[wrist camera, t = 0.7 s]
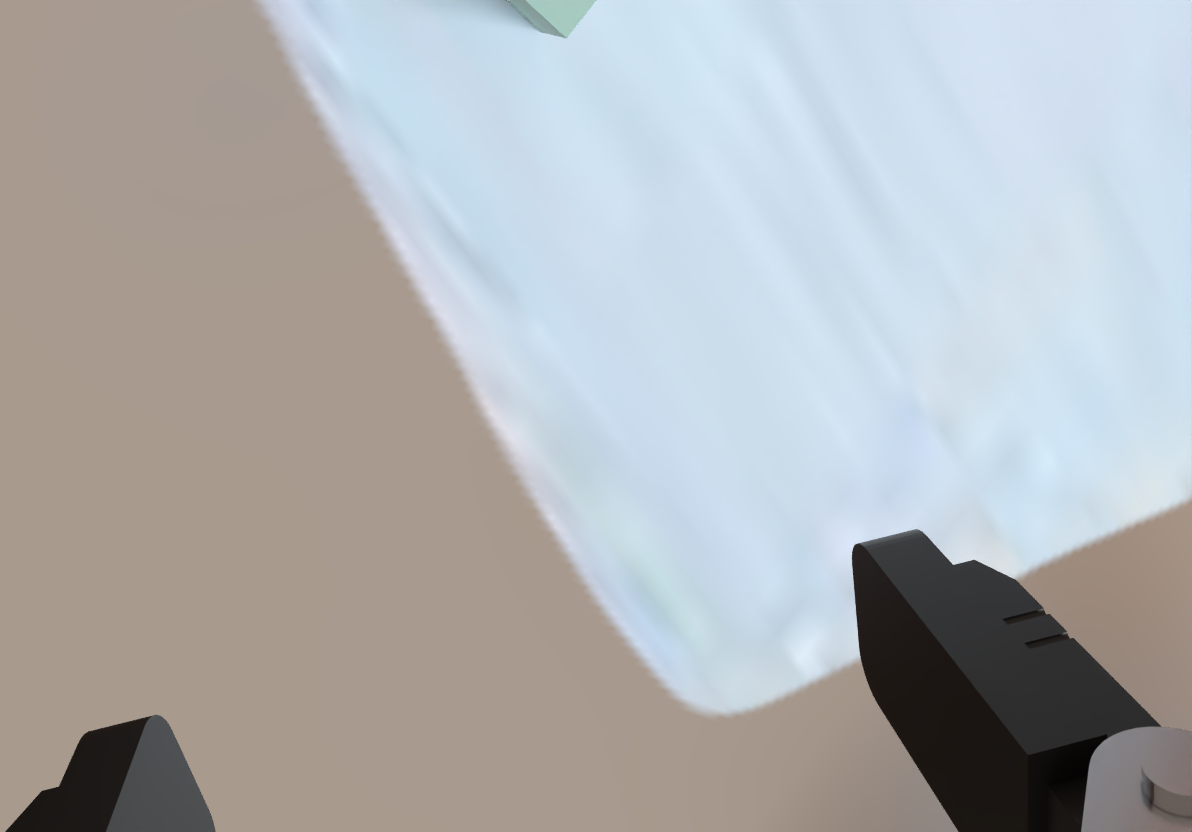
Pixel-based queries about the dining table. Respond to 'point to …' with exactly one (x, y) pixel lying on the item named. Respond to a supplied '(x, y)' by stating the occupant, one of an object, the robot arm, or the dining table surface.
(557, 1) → the teal cube
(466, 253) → the dining table surface
